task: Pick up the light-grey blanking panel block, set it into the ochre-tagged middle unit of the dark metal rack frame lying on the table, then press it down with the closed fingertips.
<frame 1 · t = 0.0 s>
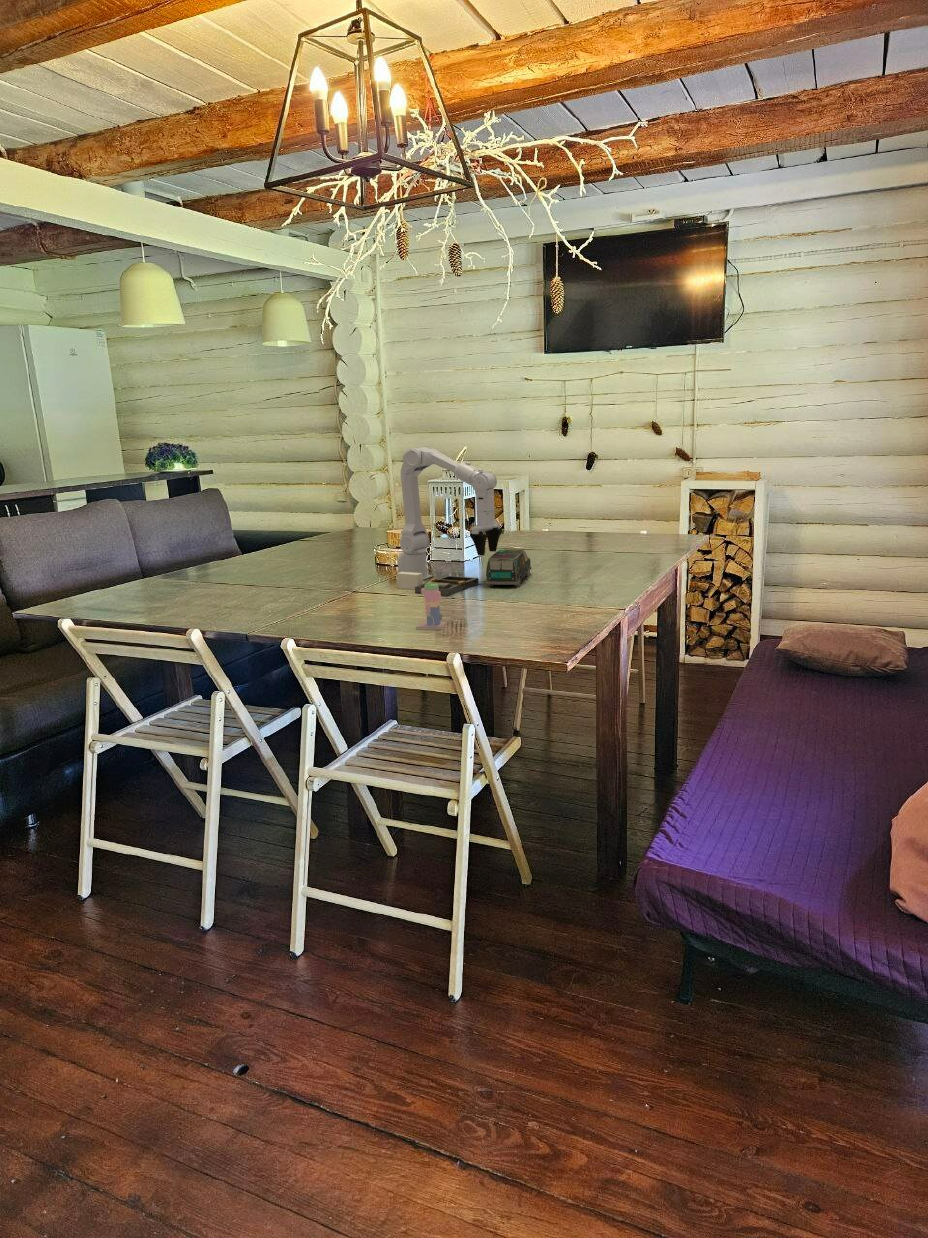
hand: (487, 553, 271), 10 cm above the table, tool pointing down, fingers open, 7 cm apart
rack: (447, 588, 270), on the table
toy van: (509, 581, 278), on the table
panel: (410, 588, 273), on the table
figurine: (431, 627, 223), on the table
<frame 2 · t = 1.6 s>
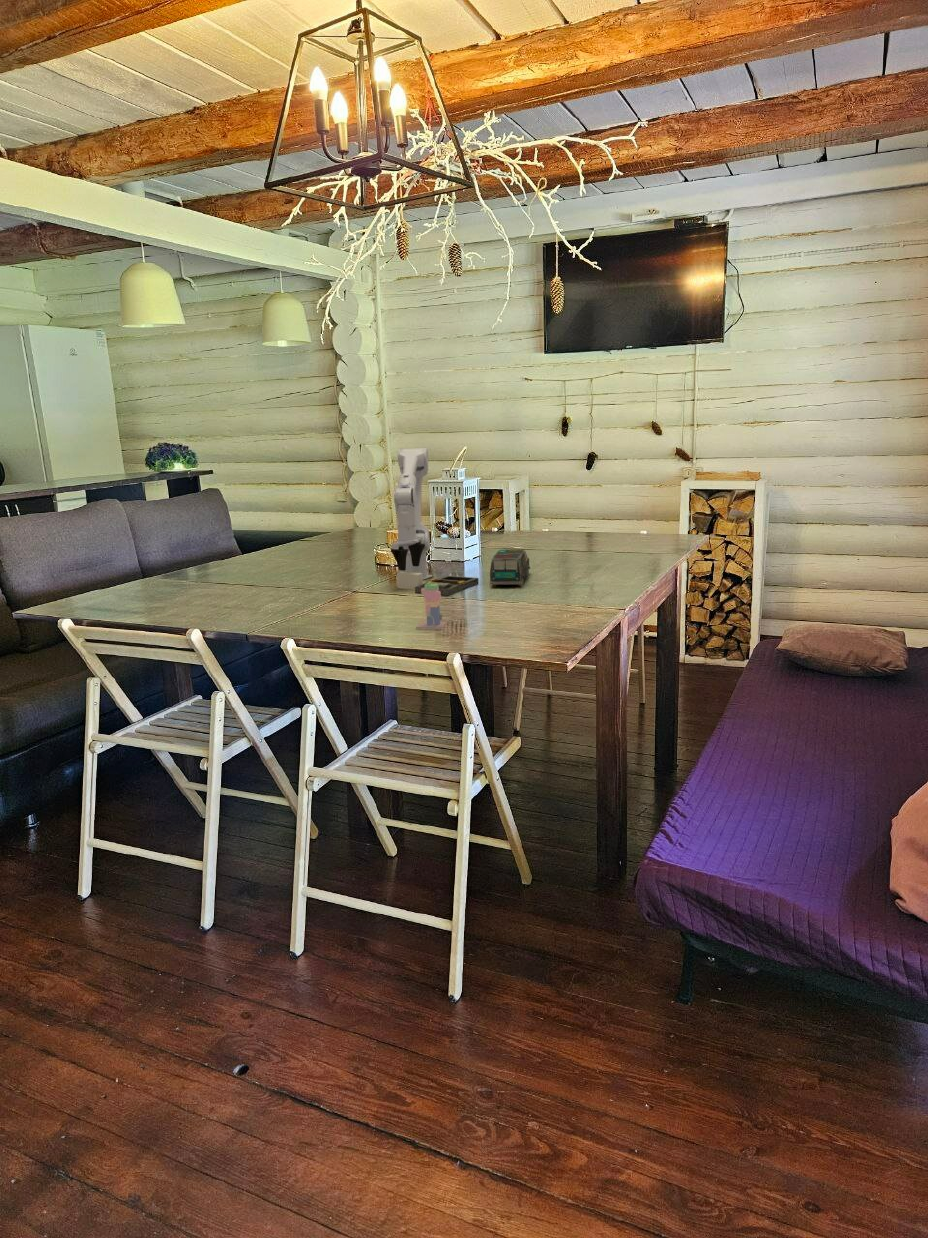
hand: (409, 568, 271), 6 cm above the table, tool pointing down, fingers open, 7 cm apart
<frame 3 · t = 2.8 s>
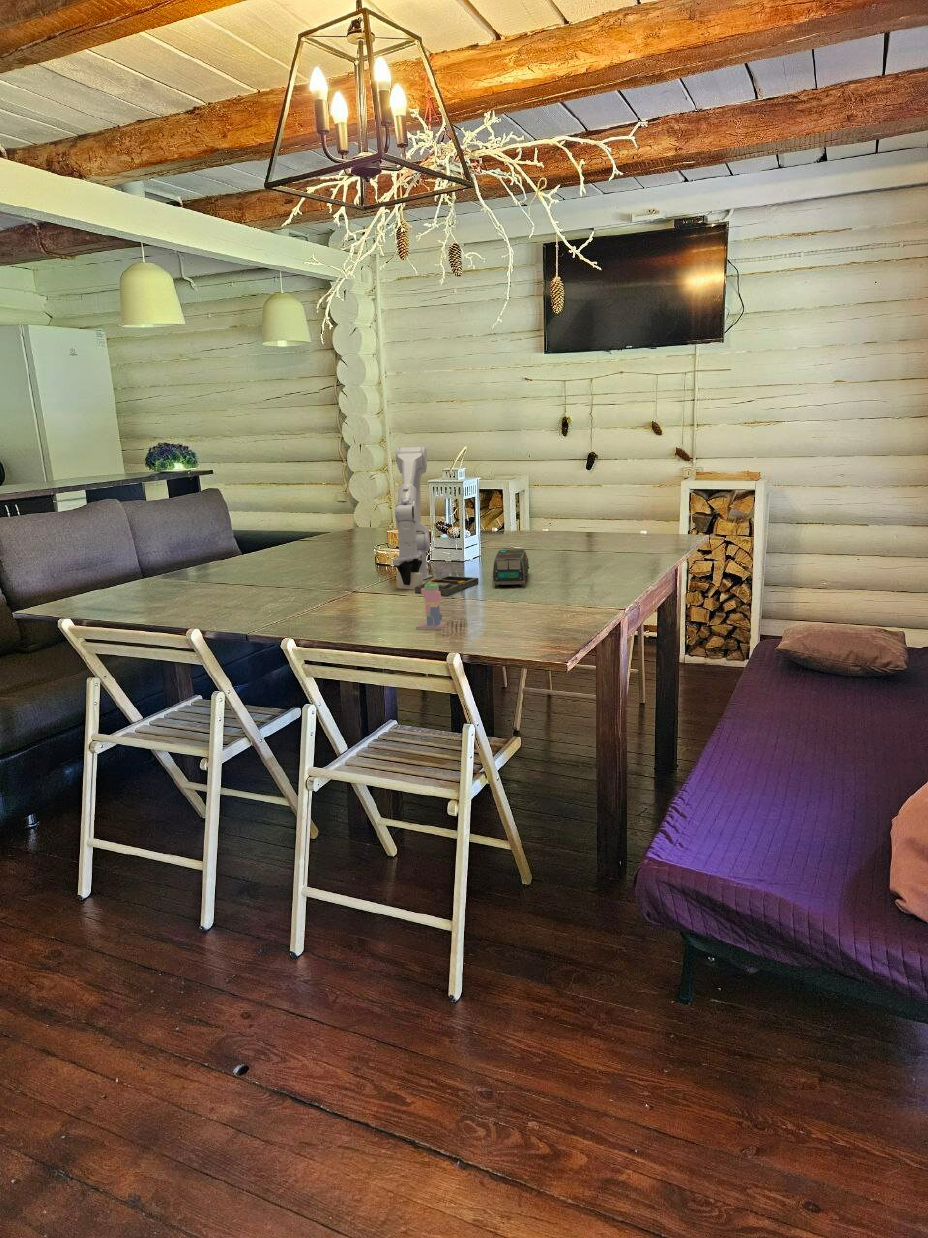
hand: (410, 583, 273), 1 cm above the table, tool pointing down, fingers closed on panel, 3 cm apart
panel: (410, 588, 273), on the table, touching gripper
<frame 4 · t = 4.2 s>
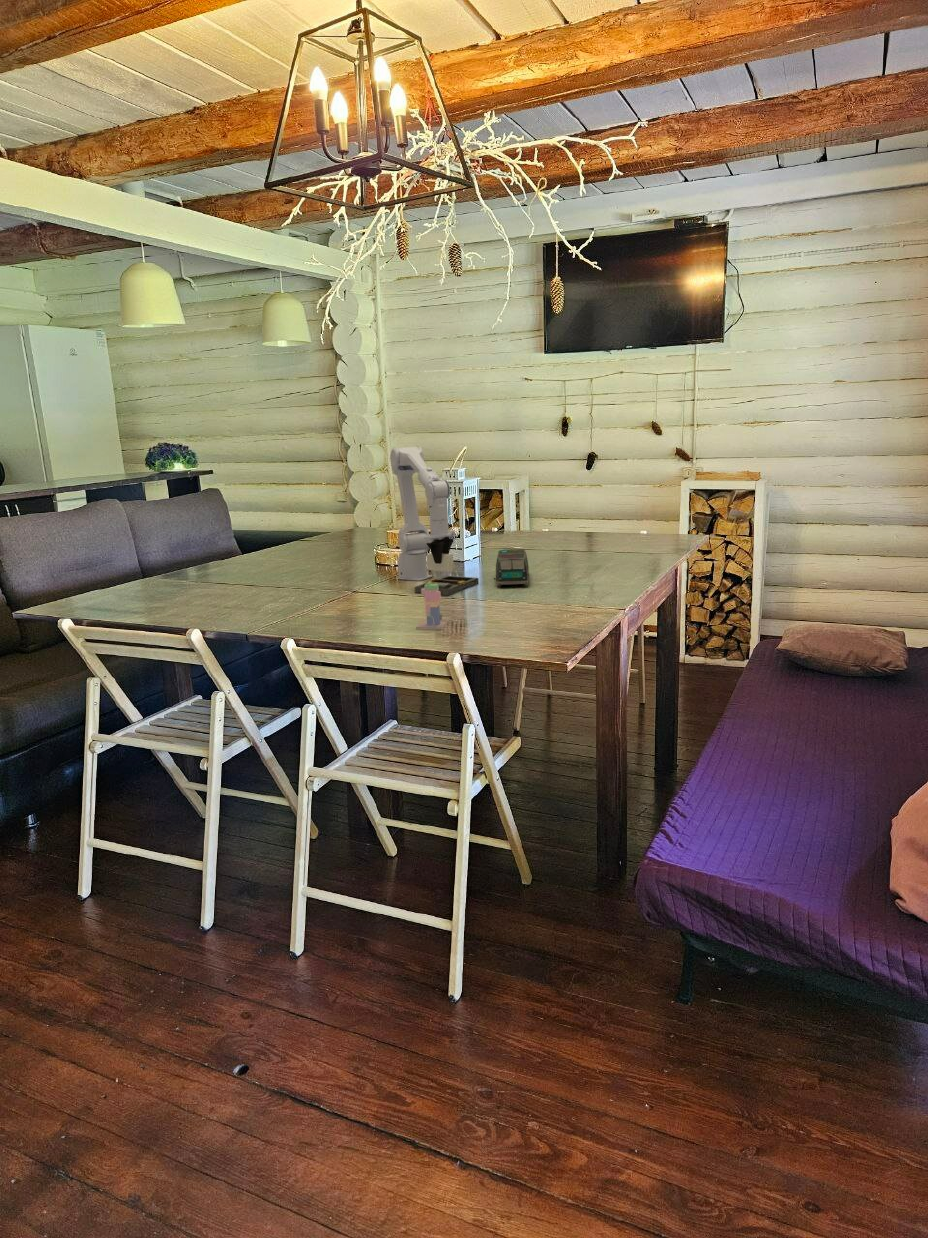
hand: (441, 562, 268), 8 cm above the table, tool pointing down, fingers closed on panel, 3 cm apart
panel: (440, 569, 269), point 6 cm above the table, touching gripper
when the fingers open (3 cm above the table, at t = 5.6 s): panel stays where it is, resting on rack.
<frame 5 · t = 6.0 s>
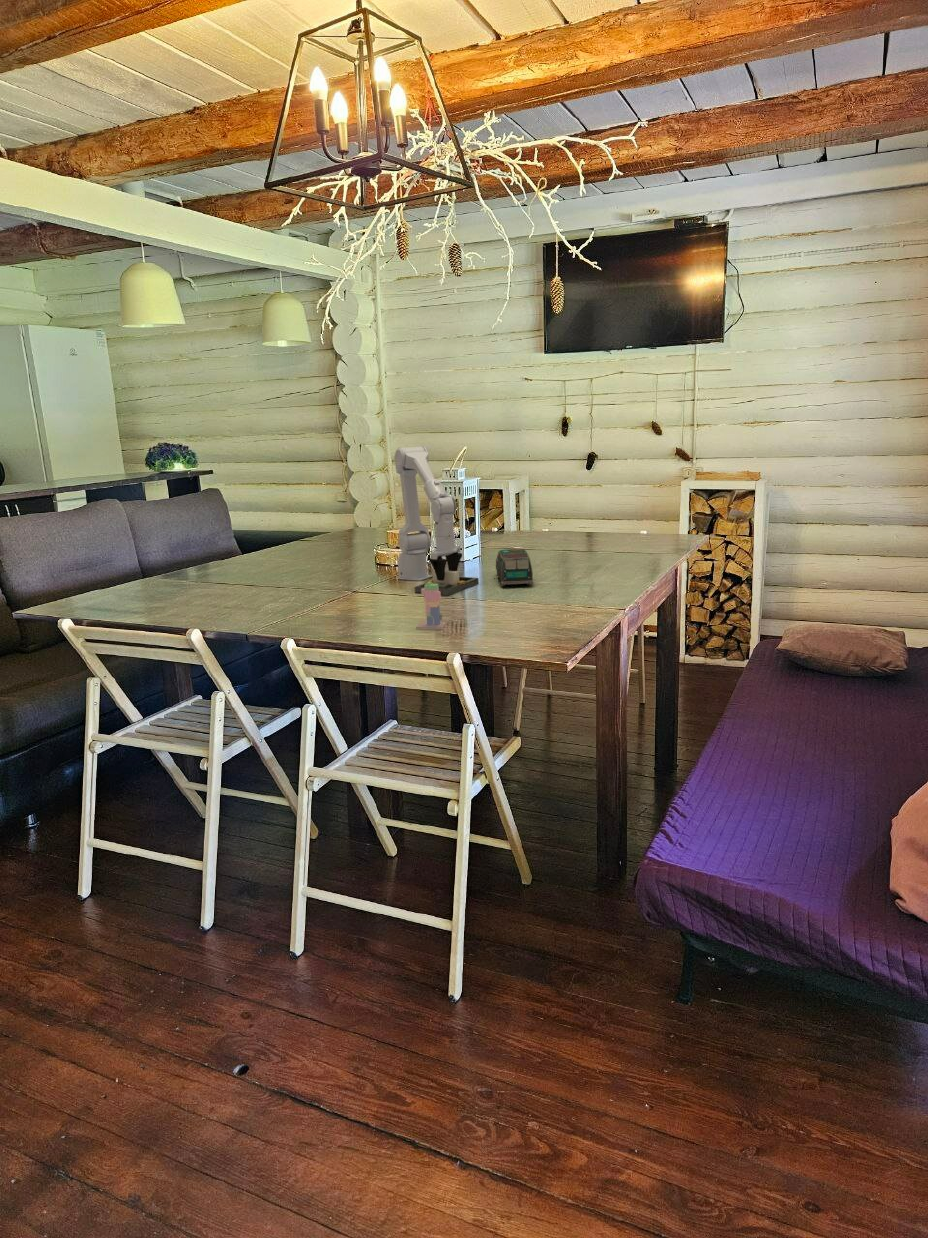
hand: (446, 578, 269), 3 cm above the table, tool pointing down, fingers open, 7 cm apart
panel: (446, 586, 270), resting on rack
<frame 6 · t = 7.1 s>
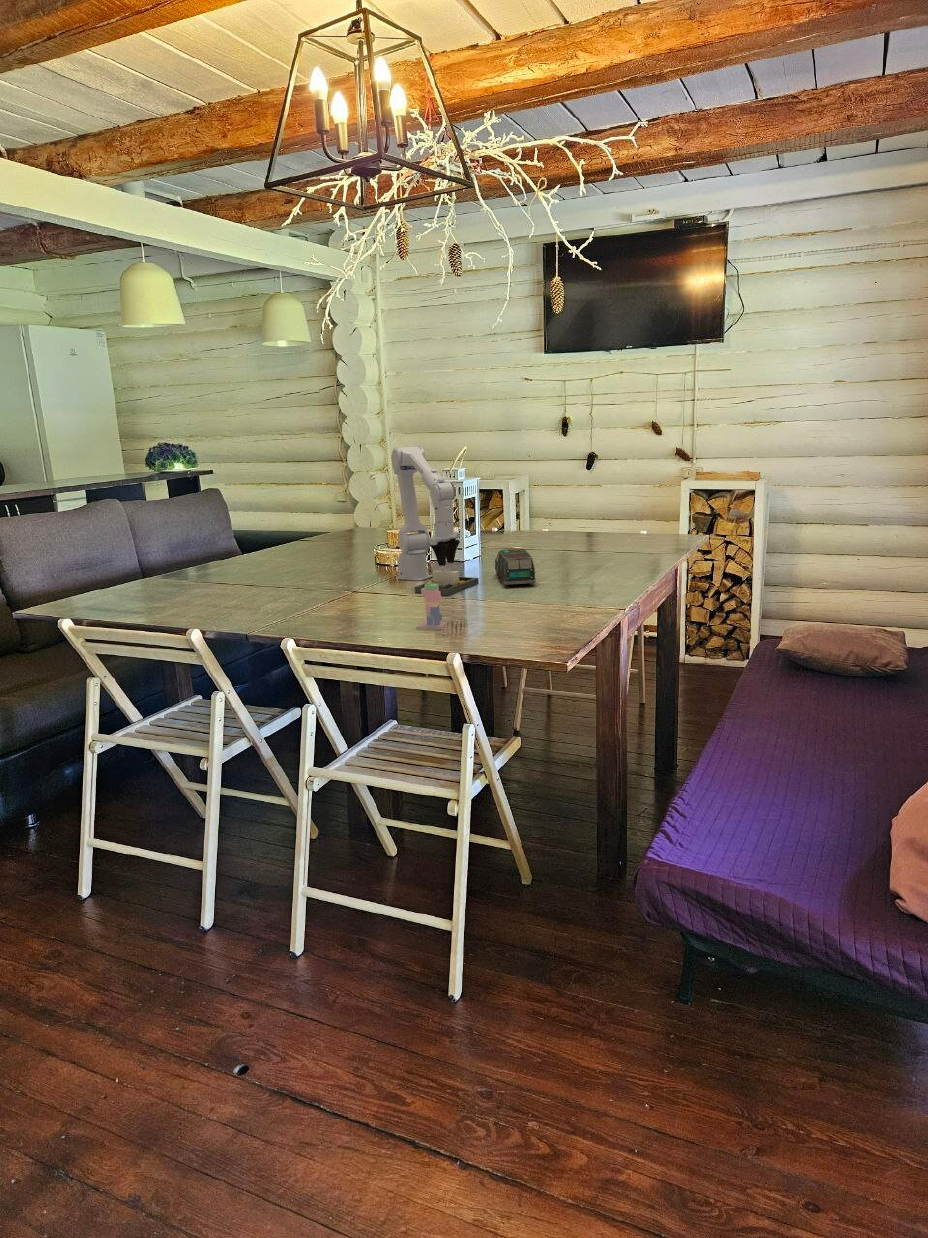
hand: (446, 564, 268), 8 cm above the table, tool pointing down, fingers open, 4 cm apart
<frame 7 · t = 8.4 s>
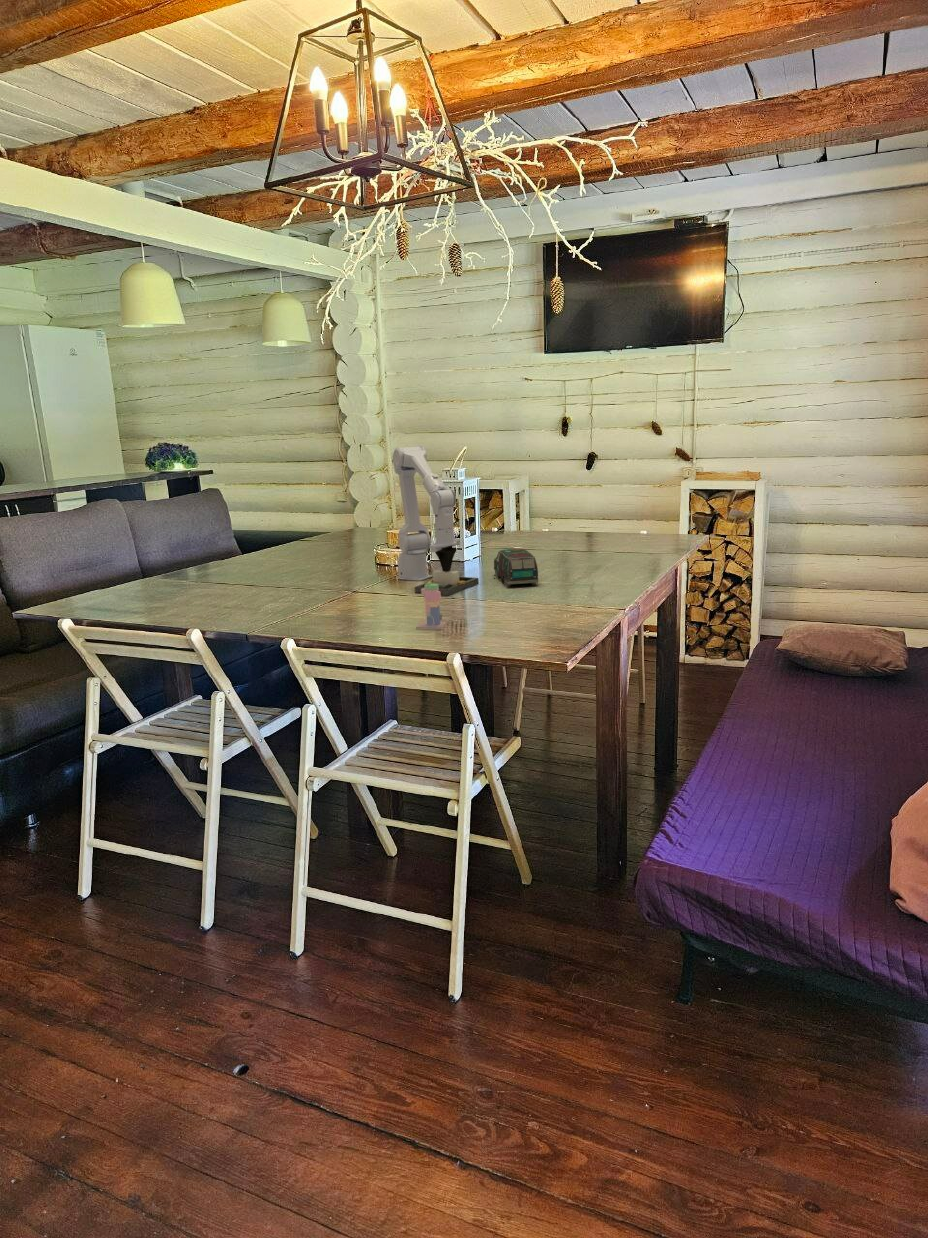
hand: (446, 570, 268), 6 cm above the table, tool pointing down, fingers closed
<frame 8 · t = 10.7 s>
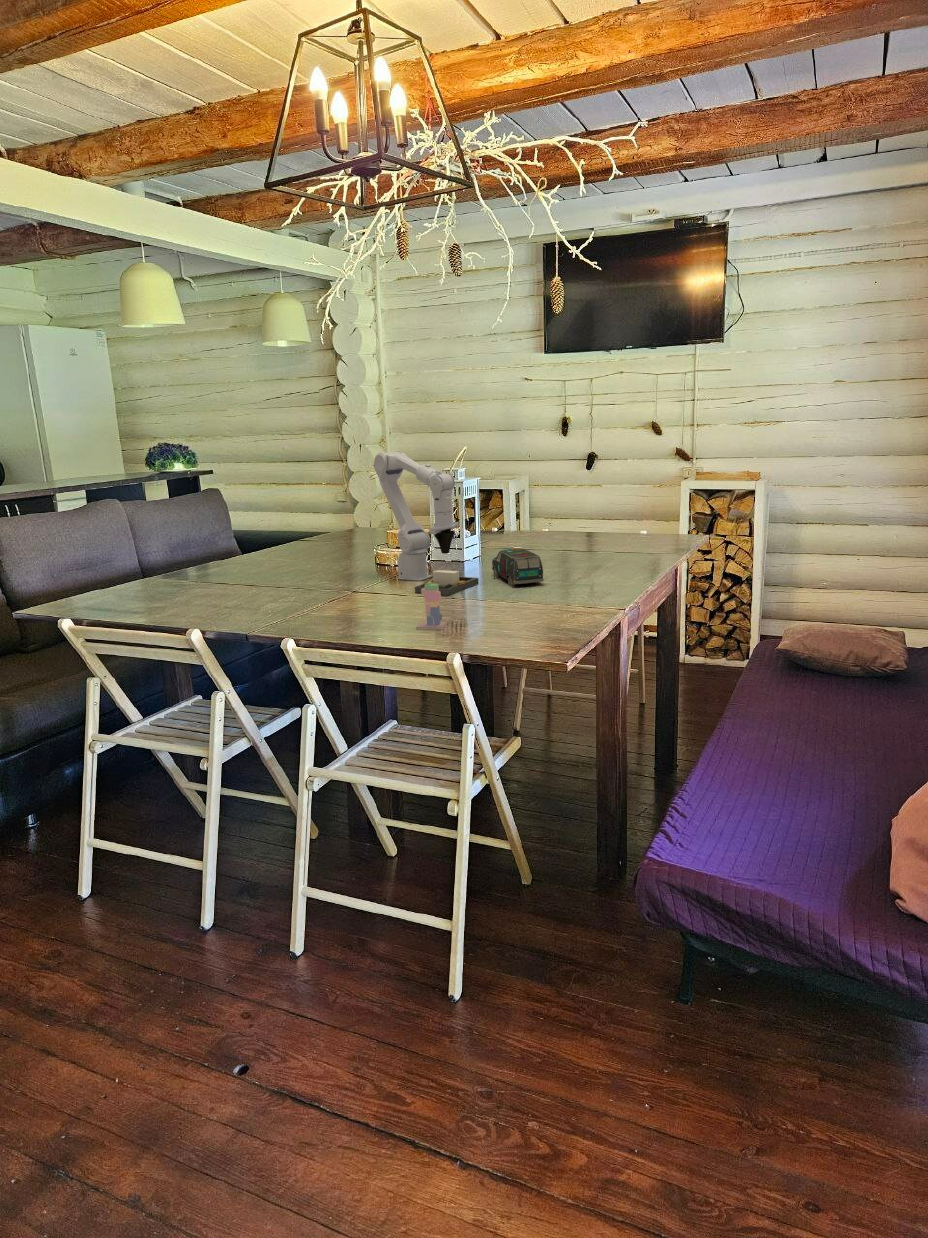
hand: (445, 553, 276), 10 cm above the table, tool pointing down, fingers closed
at the end: panel 0.3 cm off-centre on the rack, point 0.5 cm above the rack's base; panel tilted 0°; the gripper is holding nothing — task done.
